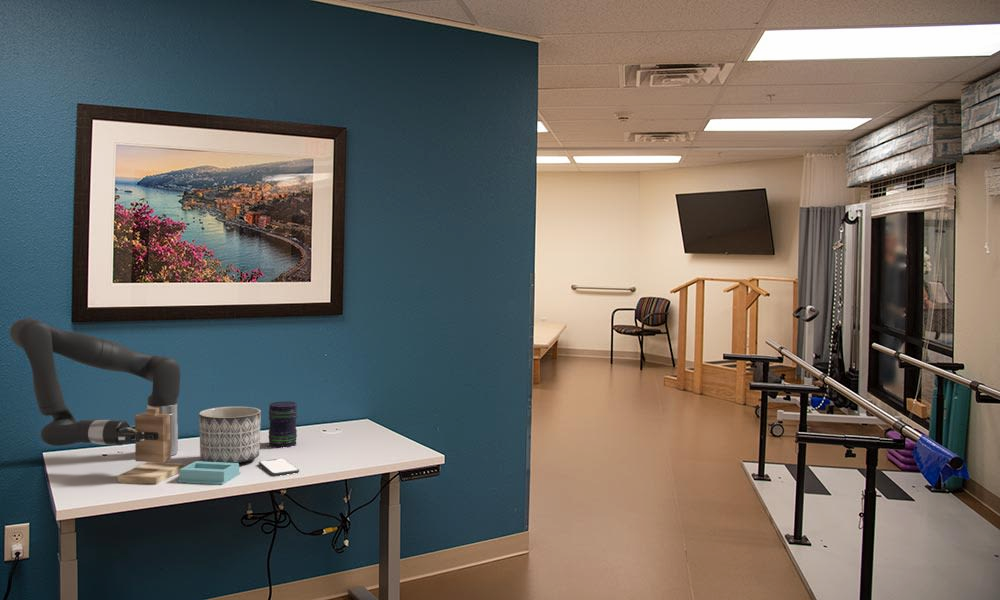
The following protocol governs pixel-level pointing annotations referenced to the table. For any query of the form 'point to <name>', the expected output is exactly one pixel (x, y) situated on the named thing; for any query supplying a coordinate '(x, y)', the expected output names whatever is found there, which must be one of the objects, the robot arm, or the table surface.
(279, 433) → the storage jar
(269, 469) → the phone case
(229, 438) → the planter
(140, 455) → the brown wooden bottle
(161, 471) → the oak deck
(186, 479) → the teal rack
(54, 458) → the table surface
